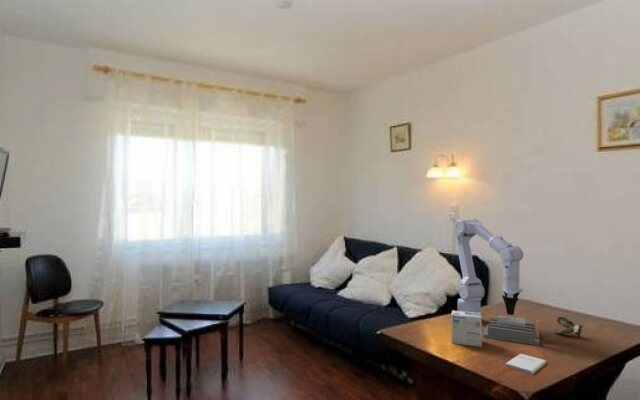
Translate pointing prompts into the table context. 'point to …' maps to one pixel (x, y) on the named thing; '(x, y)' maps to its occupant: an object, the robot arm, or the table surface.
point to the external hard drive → (526, 363)
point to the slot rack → (513, 332)
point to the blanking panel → (511, 321)
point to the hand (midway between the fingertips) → (510, 312)
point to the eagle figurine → (568, 326)
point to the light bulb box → (466, 328)
